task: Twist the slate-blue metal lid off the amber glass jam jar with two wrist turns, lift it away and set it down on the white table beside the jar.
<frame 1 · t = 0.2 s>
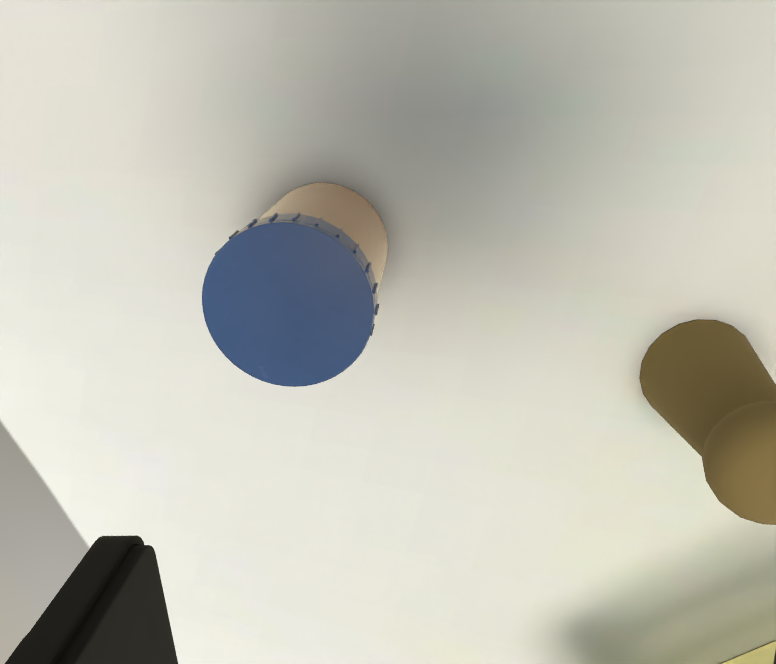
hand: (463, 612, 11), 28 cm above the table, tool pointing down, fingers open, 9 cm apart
jar lid: (289, 305, 29), point 9 cm above the table, screwed on, not yet turned
jam jar: (325, 245, 38), on the table
olive game pawn: (695, 370, 39), on the table
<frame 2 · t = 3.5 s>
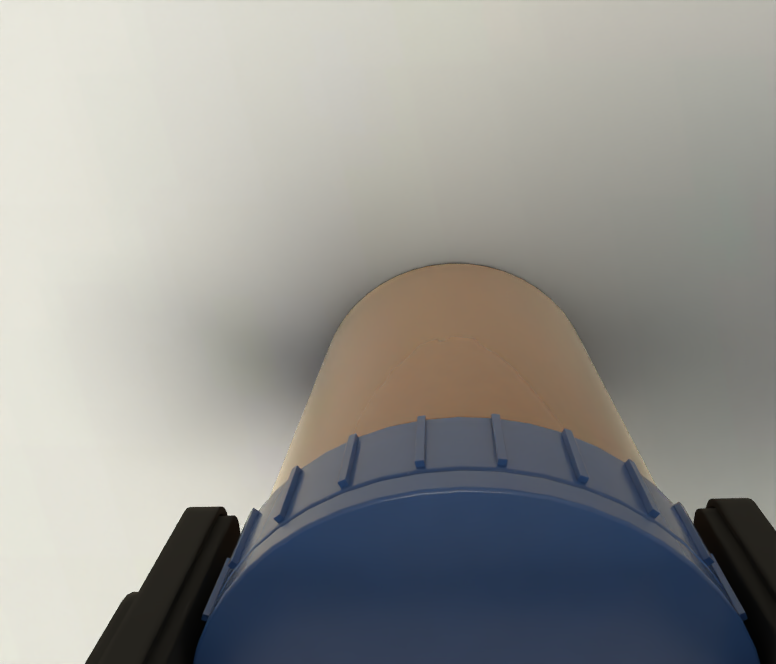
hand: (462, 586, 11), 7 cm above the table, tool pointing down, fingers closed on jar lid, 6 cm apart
jam jar: (454, 390, 18), on the table
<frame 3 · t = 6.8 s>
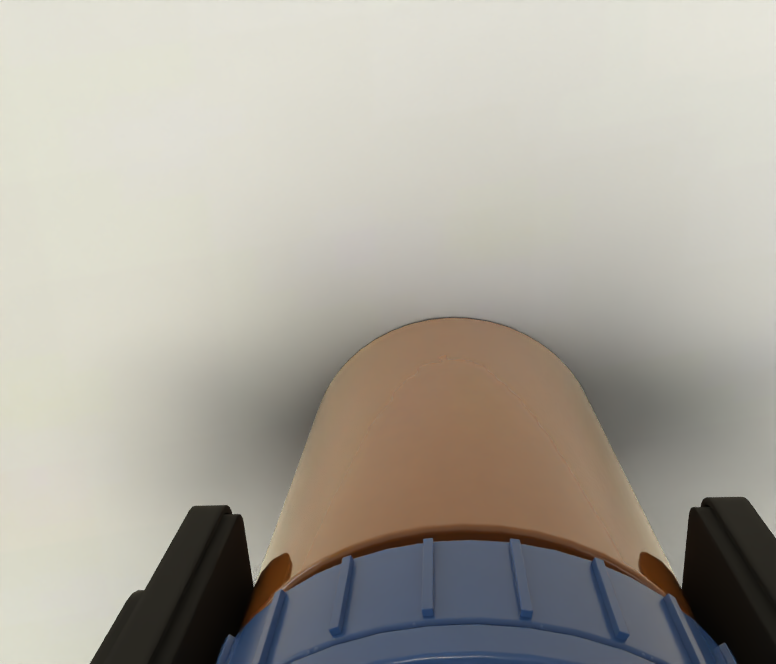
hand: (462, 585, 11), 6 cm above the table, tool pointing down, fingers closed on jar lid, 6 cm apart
jam jar: (453, 450, 17), on the table, touching gripper
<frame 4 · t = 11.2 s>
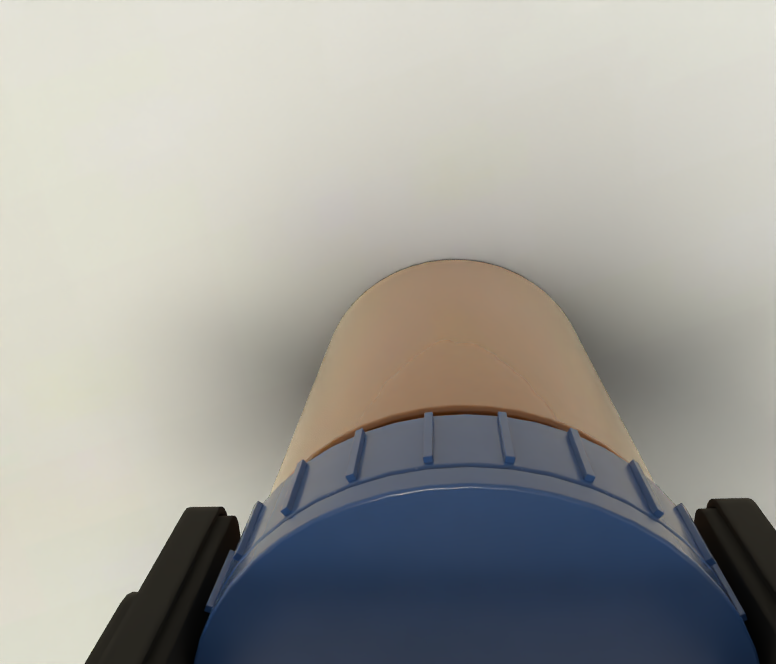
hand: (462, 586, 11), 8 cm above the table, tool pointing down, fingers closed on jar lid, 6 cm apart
jam jar: (452, 385, 18), on the table
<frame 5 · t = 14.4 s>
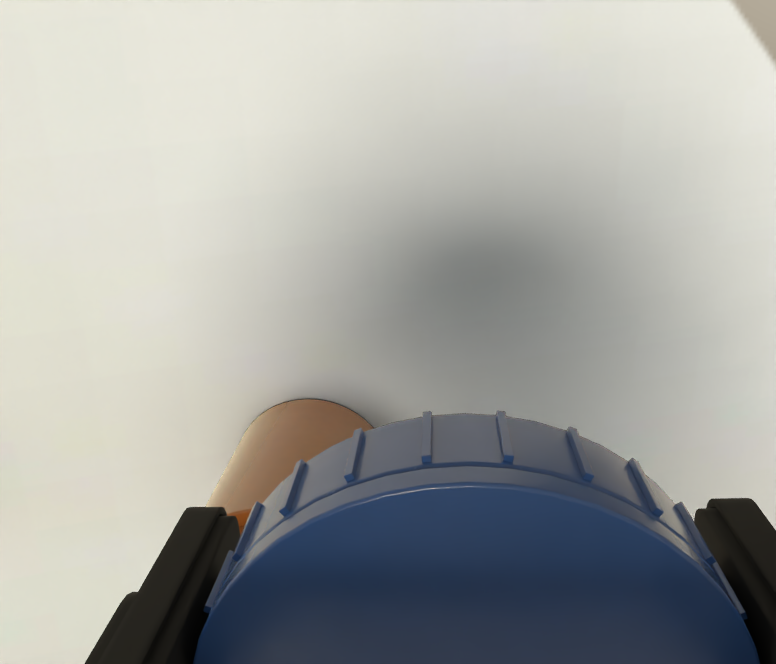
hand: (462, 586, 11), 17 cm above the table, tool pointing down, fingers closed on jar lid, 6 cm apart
jam jar: (313, 468, 31), on the table
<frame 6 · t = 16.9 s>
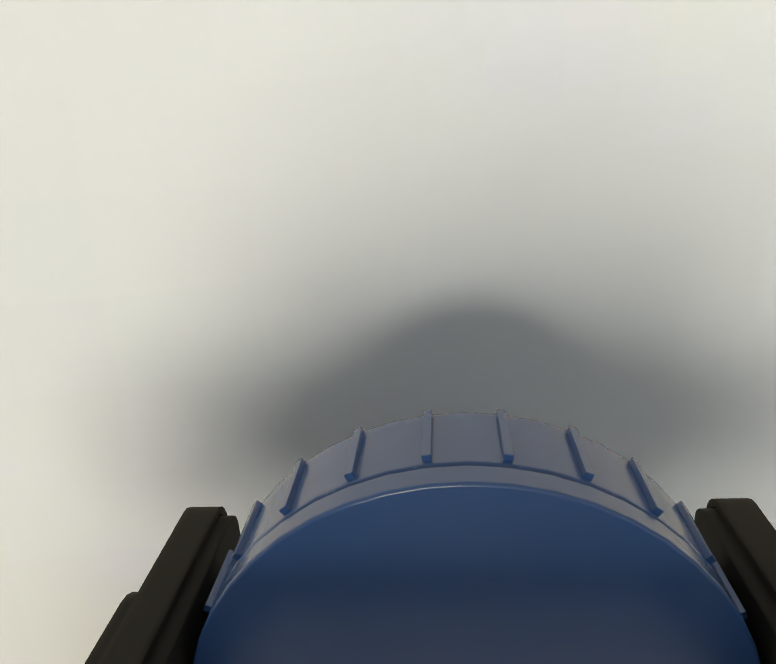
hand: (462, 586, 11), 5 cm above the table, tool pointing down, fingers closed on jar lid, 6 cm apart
when the fingers open (0 cm above the table, at t = 19.2 s): jar lid drops 1 cm, point 1 cm above the table.
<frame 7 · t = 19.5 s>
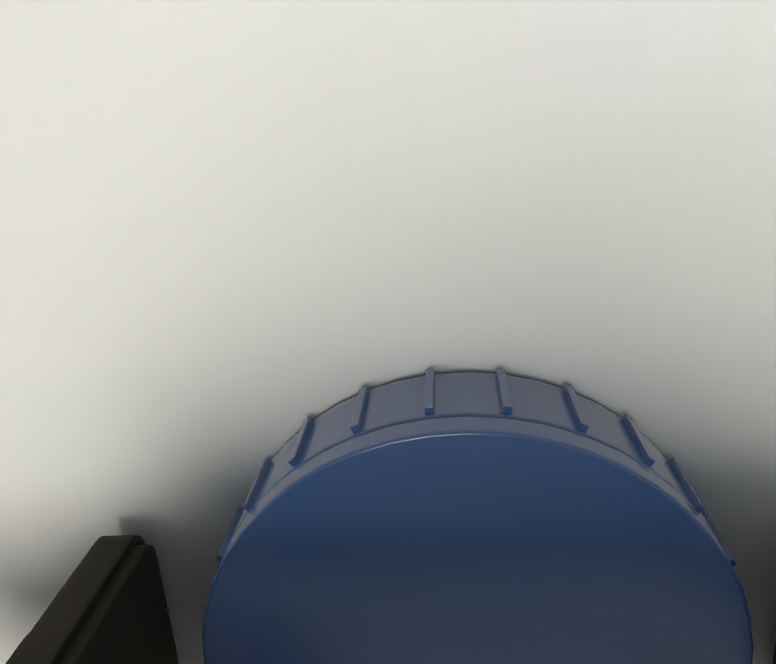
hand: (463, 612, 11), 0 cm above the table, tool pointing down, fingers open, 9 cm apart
jar lid: (468, 649, 9), point 1 cm above the table, off its thread
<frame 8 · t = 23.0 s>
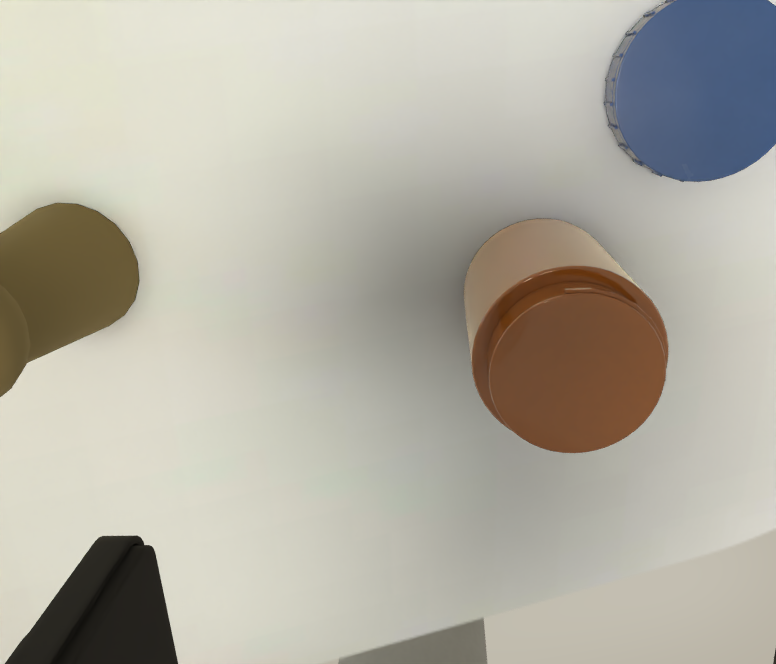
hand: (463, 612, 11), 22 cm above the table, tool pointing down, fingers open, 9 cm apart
jar lid: (705, 88, 27), point 1 cm above the table, off its thread
jam jar: (538, 291, 32), on the table
olive game pawn: (76, 267, 33), on the table
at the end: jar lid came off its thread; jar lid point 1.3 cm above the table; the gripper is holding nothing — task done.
